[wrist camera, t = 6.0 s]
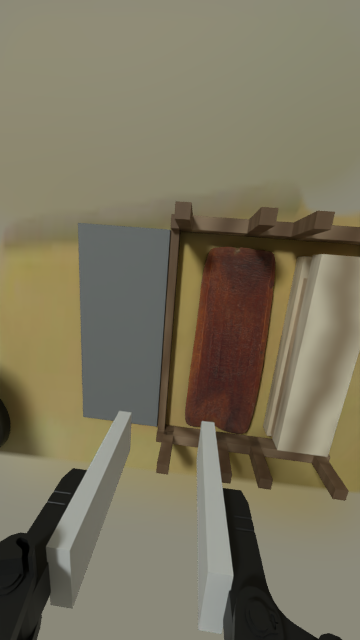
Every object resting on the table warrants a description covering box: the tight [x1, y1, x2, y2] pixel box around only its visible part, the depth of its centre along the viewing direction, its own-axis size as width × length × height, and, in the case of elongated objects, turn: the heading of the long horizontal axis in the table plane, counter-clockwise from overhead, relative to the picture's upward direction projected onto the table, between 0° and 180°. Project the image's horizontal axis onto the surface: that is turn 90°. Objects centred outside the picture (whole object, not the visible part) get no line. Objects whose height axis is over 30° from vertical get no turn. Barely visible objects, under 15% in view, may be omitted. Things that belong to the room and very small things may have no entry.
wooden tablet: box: [185, 247, 275, 434], centre depth 29 cm, size 27×10×2 cm, turn 174°
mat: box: [78, 223, 171, 426], centre depth 31 cm, size 12×29×1 cm, turn 175°
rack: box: [156, 202, 360, 500], centre depth 27 cm, size 25×32×7 cm
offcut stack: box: [263, 254, 360, 457], centre depth 27 cm, size 6×25×5 cm, turn 175°
